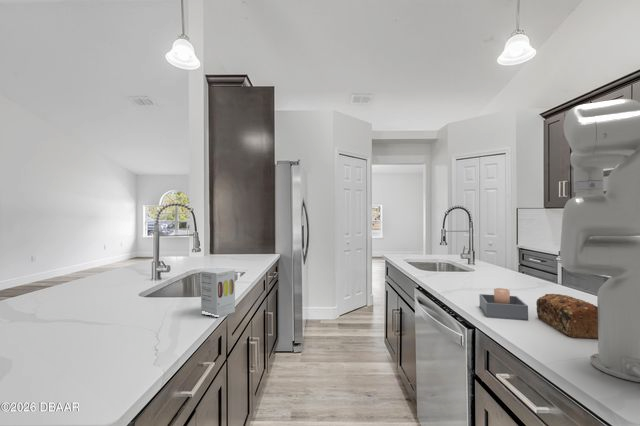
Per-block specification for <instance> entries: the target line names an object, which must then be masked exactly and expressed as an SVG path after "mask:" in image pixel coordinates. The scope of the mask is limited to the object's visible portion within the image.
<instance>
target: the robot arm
mask: <svg viewBox="0 0 640 426" xmlns="http://www.w3.org/2000/svg"><path fill="white" fill-rule="evenodd" d="M563 134H564V137H565V139H566V141H567V143H568V145H569V147H570V149H571V151H572V152H571V153H570V156H569V157H570V158H569V161H570V162H569V163H570V166H571V167H572V168H573V193H575V196H573V197H572V198H569V199H568V200H567V201H566V203H565V205H564V207H563V211H562V217H561V219H562V220H561V234H560V235H561V236H560V249H559V258H560V263H561V266H562V267H563V269H564V270H565V271H567V272H569V273H573V274H581V275H594V276H598V275H599V276H606V277H609V278H608V279H607V280H605V282H603V283H602V285H601V286H600V287H599V289H598V292H597V295H596V296H597V307H598V339H597V348H598V349H597V350H598V351H597V353H594V354H592V355H590V357H589V358H590V359H589V361H590V364H591V365H592V366H593V367H595V368H596V369H598V370H599V371H601V372H603V373H605V374H608V375H611V376H613V377H616V378H620V379H623V380H627V381H631V382H637V383H640V102H639V101H637V100H634V99H631V98H618V99H617V98H616V99H611V100H604V101H597V102H596V101H595V102H590V103H583V104H579V105H576V106H574V107H571V109H569V111H568V112H567V114H566V115H565V117H564V120H563ZM605 169H612V170H611V171H610V172H609V174H608V176H607V186H606V191H605V193H604V188H605V187H604V186H605V185H604V183H605V182H604V170H605Z"/></svg>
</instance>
